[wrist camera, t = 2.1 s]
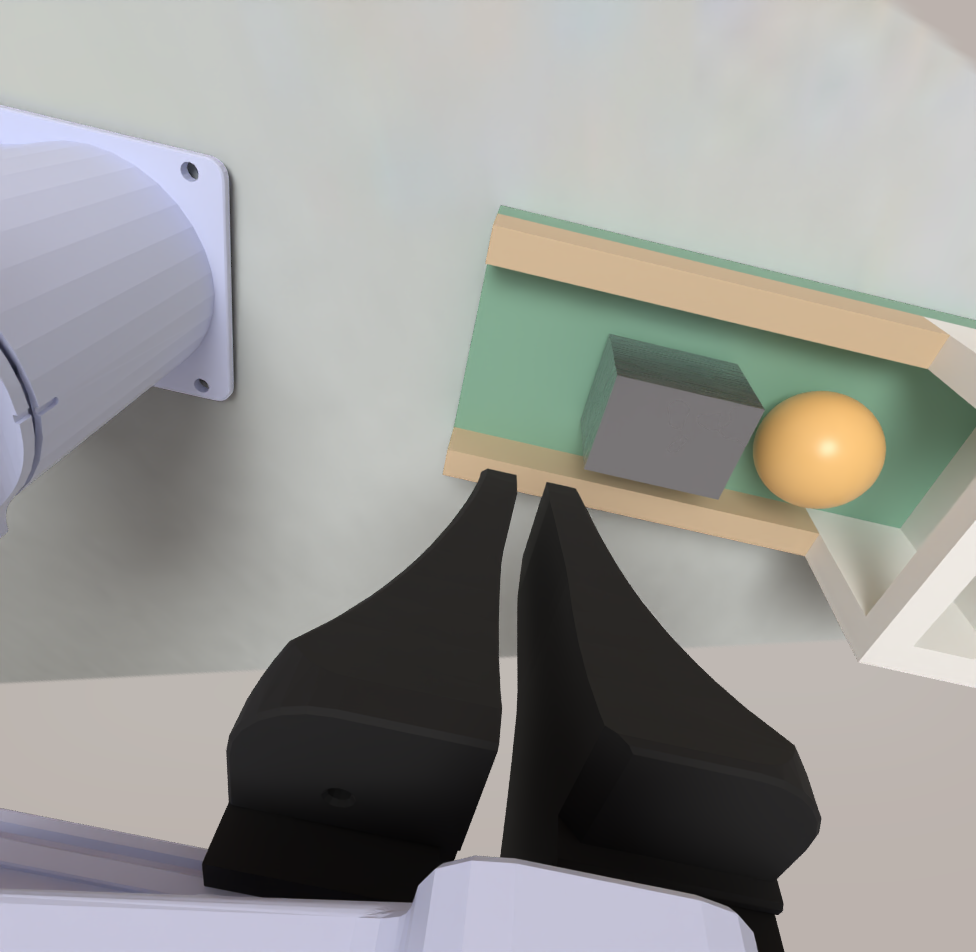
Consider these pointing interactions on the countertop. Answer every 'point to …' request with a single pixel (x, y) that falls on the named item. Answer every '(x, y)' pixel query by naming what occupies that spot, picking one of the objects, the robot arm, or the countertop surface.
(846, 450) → the ball
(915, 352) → the pitch
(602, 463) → the block
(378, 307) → the countertop surface
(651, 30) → the countertop surface
